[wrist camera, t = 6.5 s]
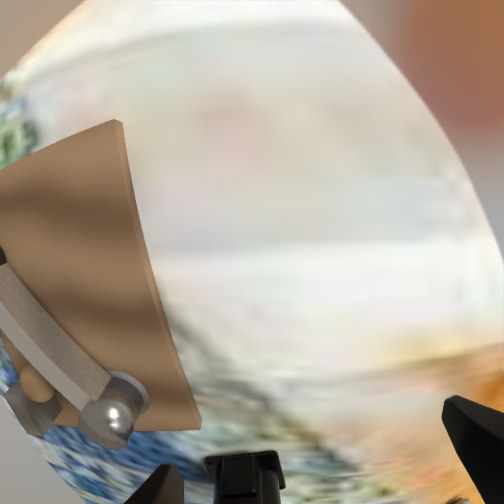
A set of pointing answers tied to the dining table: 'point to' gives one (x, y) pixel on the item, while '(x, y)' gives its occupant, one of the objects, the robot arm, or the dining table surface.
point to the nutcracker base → (89, 278)
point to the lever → (68, 366)
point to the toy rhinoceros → (463, 501)
